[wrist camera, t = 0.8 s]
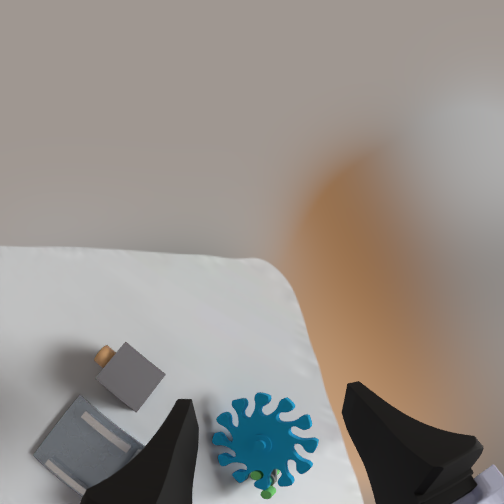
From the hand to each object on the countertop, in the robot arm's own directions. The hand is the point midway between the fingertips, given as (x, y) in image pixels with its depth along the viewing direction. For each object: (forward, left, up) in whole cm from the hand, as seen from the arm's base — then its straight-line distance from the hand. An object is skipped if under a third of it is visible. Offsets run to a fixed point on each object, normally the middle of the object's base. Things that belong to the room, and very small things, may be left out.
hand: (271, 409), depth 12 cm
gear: (0, -6, -17) cm, 18 cm away
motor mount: (-11, +4, -16) cm, 20 cm away
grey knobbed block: (-2, +7, -16) cm, 18 cm away
